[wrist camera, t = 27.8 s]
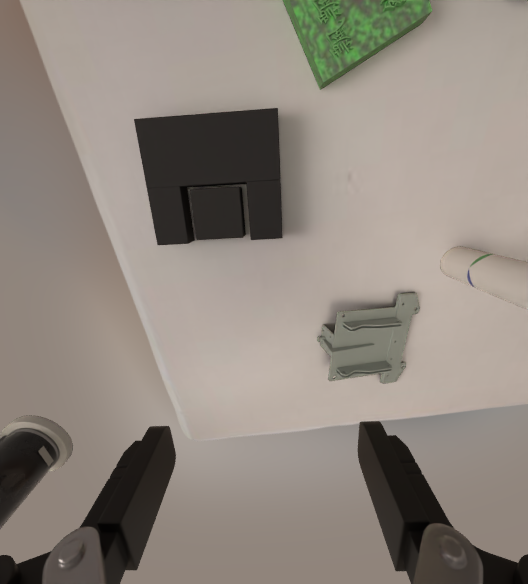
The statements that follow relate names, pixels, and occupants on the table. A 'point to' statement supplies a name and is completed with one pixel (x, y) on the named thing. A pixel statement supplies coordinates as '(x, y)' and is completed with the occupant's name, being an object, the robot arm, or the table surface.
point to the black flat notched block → (211, 167)
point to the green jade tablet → (350, 30)
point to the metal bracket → (370, 340)
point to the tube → (489, 273)
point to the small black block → (218, 213)
